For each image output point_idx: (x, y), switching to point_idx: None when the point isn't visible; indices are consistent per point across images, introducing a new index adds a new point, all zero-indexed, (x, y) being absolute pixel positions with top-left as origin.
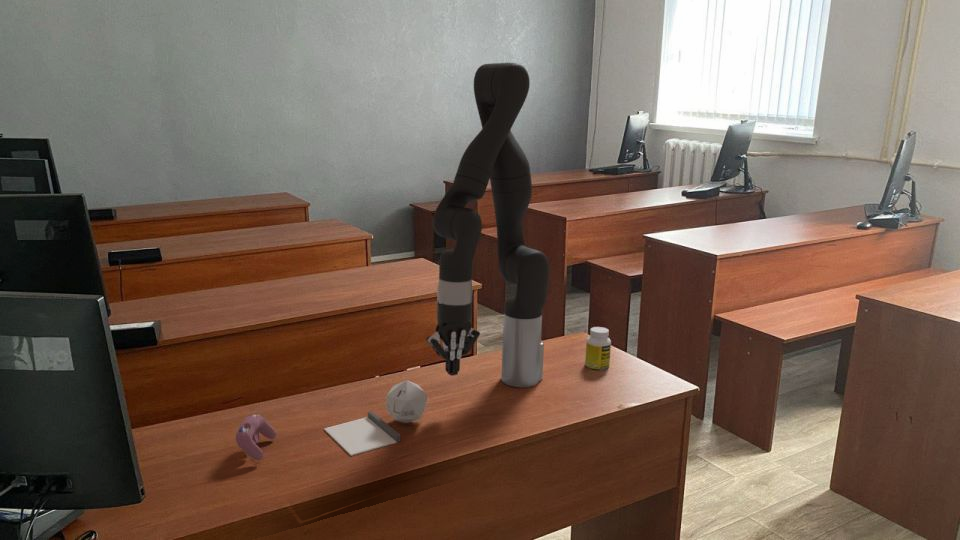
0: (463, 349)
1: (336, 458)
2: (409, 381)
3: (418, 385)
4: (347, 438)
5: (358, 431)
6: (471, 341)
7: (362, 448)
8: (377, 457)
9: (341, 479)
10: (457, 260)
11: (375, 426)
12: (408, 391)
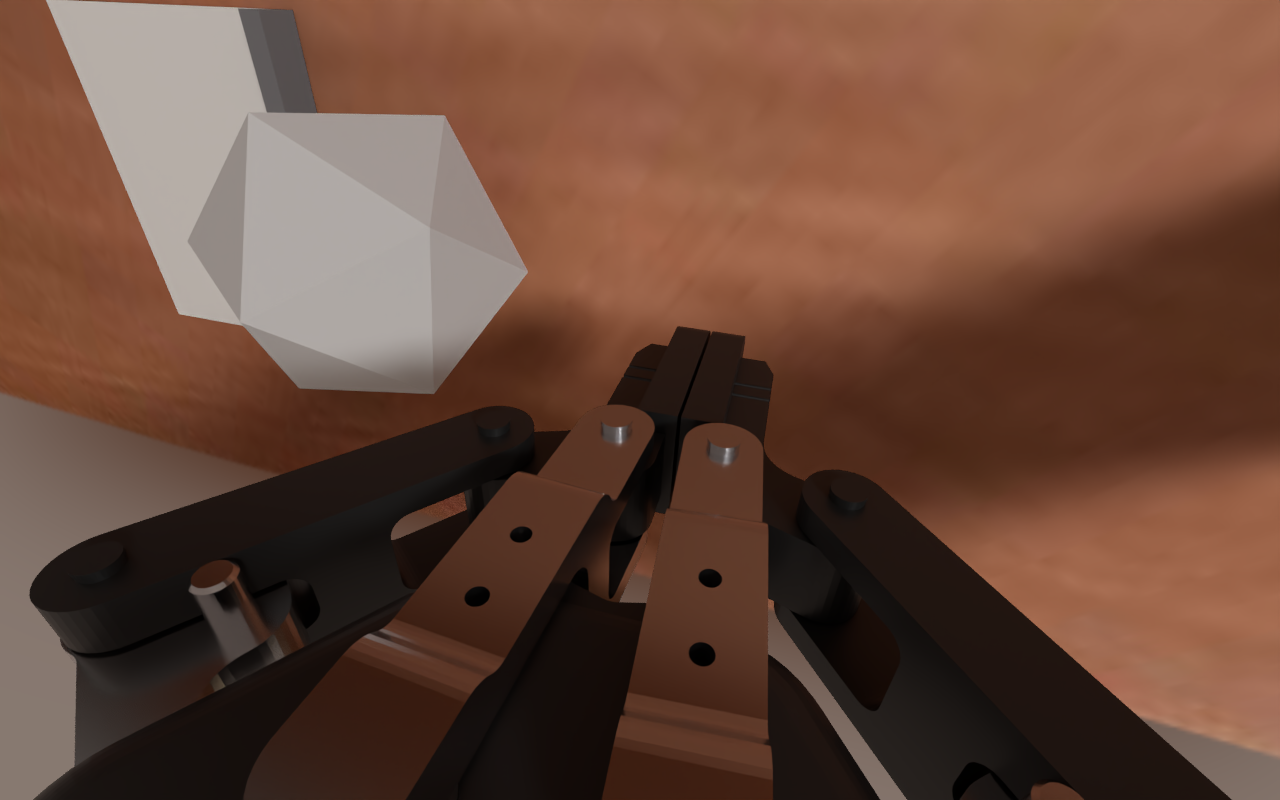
0: (797, 610)
1: (136, 290)
2: (285, 305)
3: (425, 248)
4: (162, 186)
5: (209, 152)
6: (918, 790)
7: (219, 303)
8: (272, 378)
9: (159, 405)
10: None
11: None
12: (287, 364)
